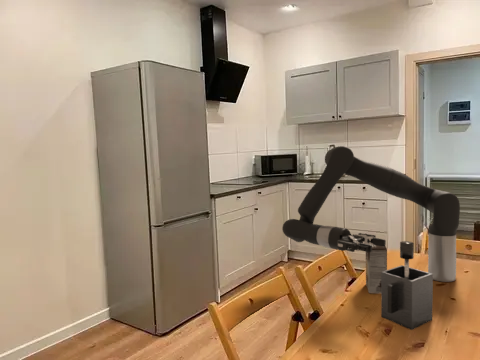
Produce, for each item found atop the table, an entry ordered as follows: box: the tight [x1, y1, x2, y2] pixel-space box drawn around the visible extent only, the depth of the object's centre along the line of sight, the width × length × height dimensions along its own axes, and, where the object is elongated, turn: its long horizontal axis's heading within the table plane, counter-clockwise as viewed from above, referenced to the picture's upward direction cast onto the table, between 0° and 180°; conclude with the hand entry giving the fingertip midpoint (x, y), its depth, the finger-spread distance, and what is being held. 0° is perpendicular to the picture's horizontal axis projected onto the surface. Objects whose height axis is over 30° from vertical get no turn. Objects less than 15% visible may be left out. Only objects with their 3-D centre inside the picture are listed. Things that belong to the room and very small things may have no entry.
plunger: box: [399, 240, 415, 280], centre depth 111 cm, size 8×8×21 cm
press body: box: [380, 264, 434, 331], centre depth 110 cm, size 13×10×14 cm
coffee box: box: [365, 245, 388, 294], centre depth 134 cm, size 9×6×16 cm
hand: (378, 245), depth 116 cm, fingers open, 8 cm apart
